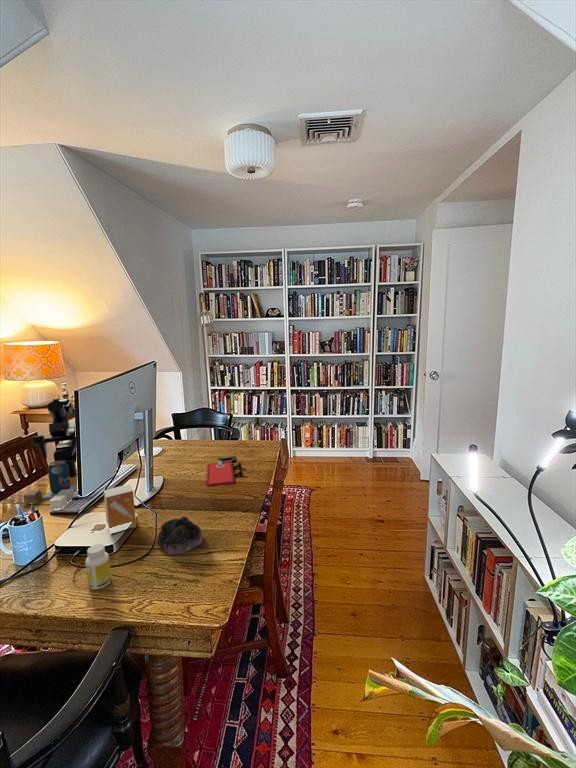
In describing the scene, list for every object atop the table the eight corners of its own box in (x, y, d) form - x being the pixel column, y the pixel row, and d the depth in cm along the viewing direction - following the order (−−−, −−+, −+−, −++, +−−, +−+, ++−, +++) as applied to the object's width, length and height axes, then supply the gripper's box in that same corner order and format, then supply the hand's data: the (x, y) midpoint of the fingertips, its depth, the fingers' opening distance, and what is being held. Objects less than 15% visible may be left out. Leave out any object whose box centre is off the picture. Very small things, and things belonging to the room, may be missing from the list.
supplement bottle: (115, 575, 99) (111, 541, 97) (106, 589, 93) (101, 554, 92) (94, 576, 98) (90, 542, 97) (84, 591, 93) (79, 555, 91)
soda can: (65, 494, 145) (61, 465, 143) (47, 495, 144) (43, 466, 142) (74, 486, 152) (70, 458, 150) (56, 487, 151) (52, 459, 149)
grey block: (63, 499, 143) (62, 489, 143) (74, 498, 144) (72, 488, 143) (58, 504, 139) (56, 494, 139) (69, 503, 140) (67, 493, 139)
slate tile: (55, 489, 152) (54, 487, 152) (77, 488, 153) (77, 485, 153) (42, 499, 143) (42, 497, 143) (66, 498, 144) (66, 495, 144)
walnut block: (31, 500, 143) (29, 490, 143) (42, 499, 144) (40, 489, 143) (24, 505, 140) (23, 495, 139) (36, 504, 140) (34, 494, 139)
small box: (110, 535, 117) (105, 497, 115) (107, 527, 122) (102, 490, 120) (137, 527, 122) (133, 490, 119) (133, 519, 127) (129, 483, 125)
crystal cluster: (170, 531, 120) (164, 504, 118) (210, 530, 118) (205, 502, 116) (151, 560, 107) (144, 530, 105) (196, 559, 105) (190, 528, 103)
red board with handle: (239, 457, 183) (208, 461, 180) (238, 452, 183) (207, 455, 180) (243, 483, 154) (207, 488, 151) (243, 477, 154) (206, 481, 151)
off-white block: (56, 505, 138) (55, 495, 138) (67, 504, 139) (66, 494, 138) (50, 510, 135) (49, 500, 134) (62, 510, 135) (60, 499, 134)
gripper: (29, 417, 149) (25, 451, 140) (81, 412, 156) (81, 444, 147) (36, 431, 157) (33, 464, 149) (86, 425, 164) (85, 457, 156)
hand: (58, 457), depth 150 cm, fingers open, 9 cm apart
